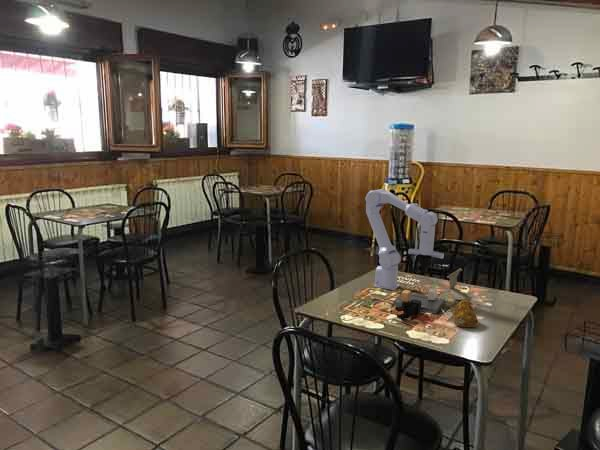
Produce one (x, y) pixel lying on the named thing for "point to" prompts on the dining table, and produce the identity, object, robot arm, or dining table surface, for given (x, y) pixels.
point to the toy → (409, 309)
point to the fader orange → (405, 295)
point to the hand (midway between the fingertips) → (424, 272)
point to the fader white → (432, 294)
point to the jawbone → (453, 283)
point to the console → (423, 302)
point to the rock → (465, 315)
